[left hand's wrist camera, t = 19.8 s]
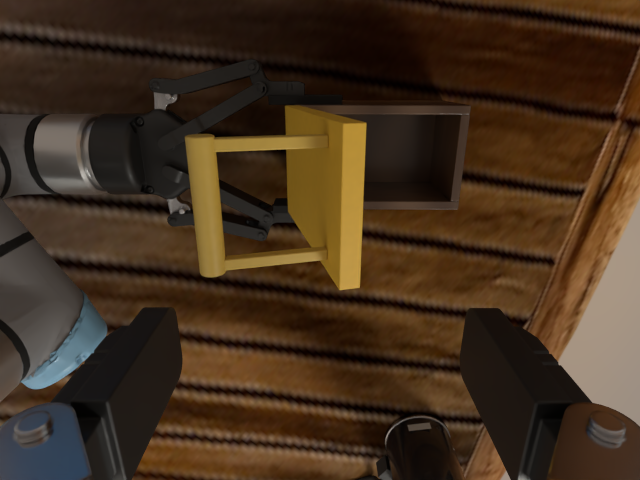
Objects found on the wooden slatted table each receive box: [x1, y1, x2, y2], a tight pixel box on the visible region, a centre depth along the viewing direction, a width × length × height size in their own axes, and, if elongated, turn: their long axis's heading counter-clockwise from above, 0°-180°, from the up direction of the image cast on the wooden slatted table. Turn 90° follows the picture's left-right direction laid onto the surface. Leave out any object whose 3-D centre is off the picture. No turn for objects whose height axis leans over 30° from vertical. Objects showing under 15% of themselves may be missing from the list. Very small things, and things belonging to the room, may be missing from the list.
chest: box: [294, 100, 471, 209], centre depth 41 cm, size 15×9×9 cm, turn 90°
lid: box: [185, 105, 366, 290], centre depth 29 cm, size 16×9×9 cm
